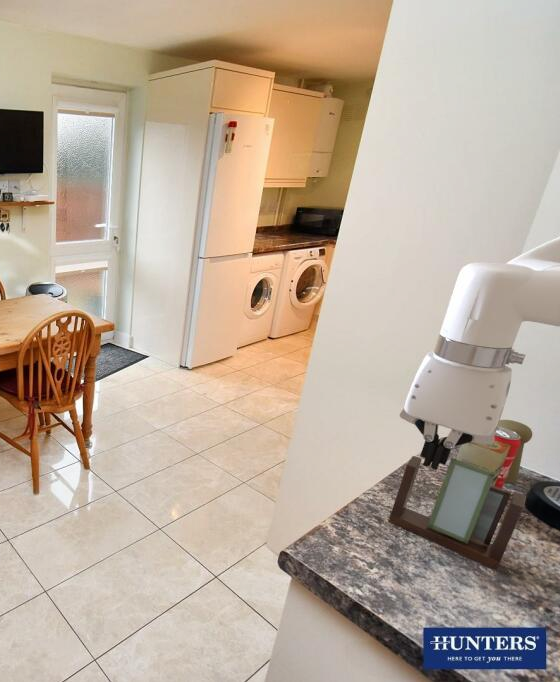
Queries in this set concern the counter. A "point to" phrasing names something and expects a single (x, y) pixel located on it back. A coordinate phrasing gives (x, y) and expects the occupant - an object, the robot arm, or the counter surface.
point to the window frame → (484, 526)
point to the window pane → (460, 499)
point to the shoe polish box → (484, 456)
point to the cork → (525, 436)
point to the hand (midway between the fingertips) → (431, 464)
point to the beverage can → (514, 441)
